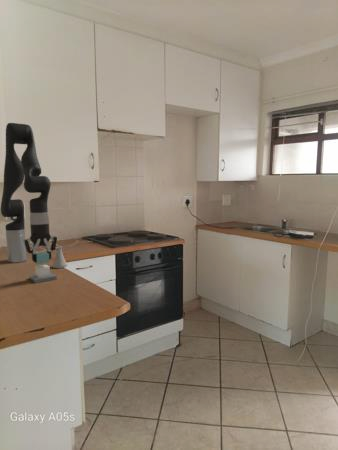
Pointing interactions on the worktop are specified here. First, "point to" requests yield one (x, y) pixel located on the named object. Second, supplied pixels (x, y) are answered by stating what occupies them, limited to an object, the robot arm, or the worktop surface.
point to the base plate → (42, 278)
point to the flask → (59, 259)
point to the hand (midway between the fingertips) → (41, 261)
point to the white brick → (42, 271)
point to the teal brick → (42, 257)
